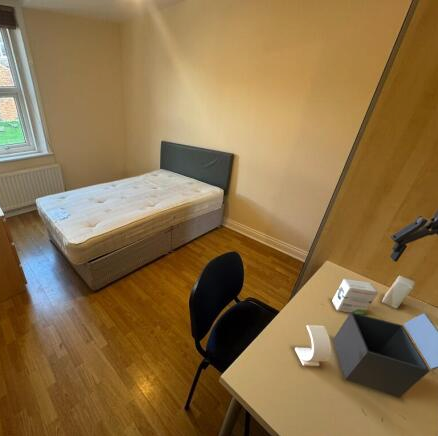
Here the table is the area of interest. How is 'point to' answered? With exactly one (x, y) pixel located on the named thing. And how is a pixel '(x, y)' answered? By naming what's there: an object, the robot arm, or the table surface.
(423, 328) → the panel
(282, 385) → the table surface
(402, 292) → the box
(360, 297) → the ink box
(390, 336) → the grey container
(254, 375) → the table surface
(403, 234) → the robot arm
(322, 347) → the headphone stand
